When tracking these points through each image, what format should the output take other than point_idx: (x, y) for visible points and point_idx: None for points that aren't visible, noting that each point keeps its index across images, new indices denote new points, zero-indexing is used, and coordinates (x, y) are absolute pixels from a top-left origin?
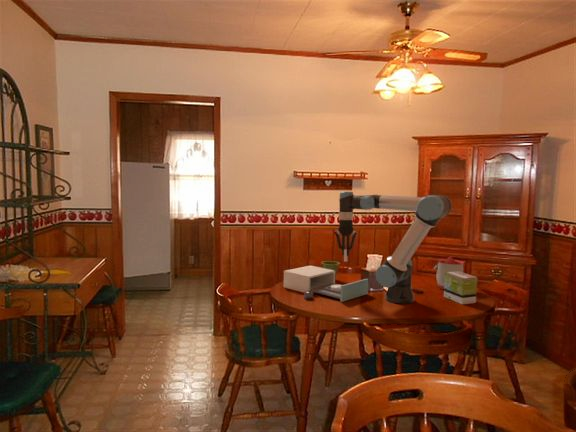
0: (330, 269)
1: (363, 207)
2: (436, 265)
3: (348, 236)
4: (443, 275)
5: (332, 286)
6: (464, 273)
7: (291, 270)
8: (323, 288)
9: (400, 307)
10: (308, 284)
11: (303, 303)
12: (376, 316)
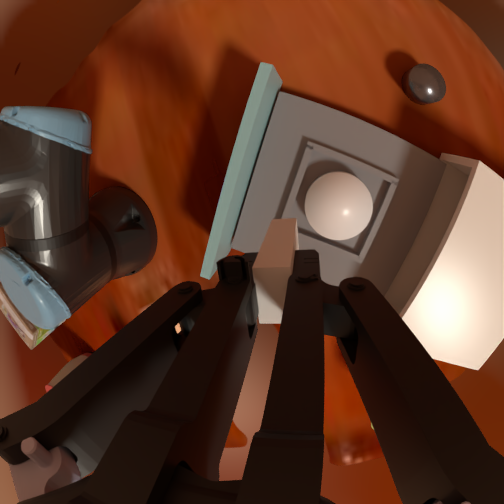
0: None
1: None
2: None
3: (119, 430)
4: None
5: (362, 194)
6: (15, 329)
7: None
8: (398, 179)
9: (97, 151)
10: (461, 157)
11: (401, 19)
12: (130, 27)
